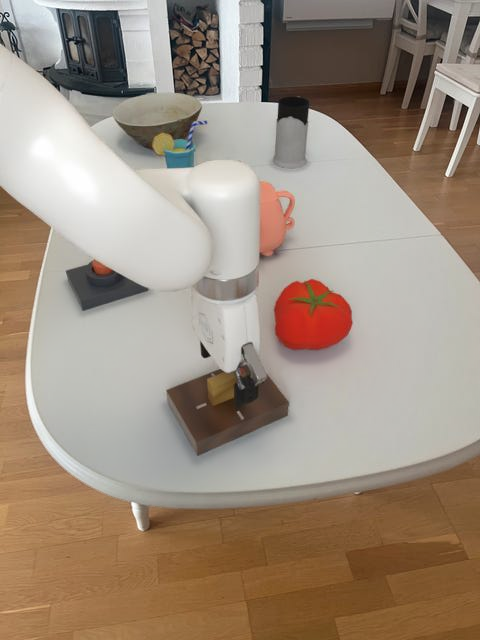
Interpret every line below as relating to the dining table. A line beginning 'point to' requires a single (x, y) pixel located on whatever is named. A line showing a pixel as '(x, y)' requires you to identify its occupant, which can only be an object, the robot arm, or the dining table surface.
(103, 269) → the round orange push button
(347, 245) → the dining table surface
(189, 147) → the cup
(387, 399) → the dining table surface
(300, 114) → the glass holder
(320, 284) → the tomato
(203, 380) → the plate
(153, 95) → the bowl
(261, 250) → the teapot
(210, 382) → the lock knob
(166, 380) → the dining table surface
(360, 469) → the dining table surface
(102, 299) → the button box
